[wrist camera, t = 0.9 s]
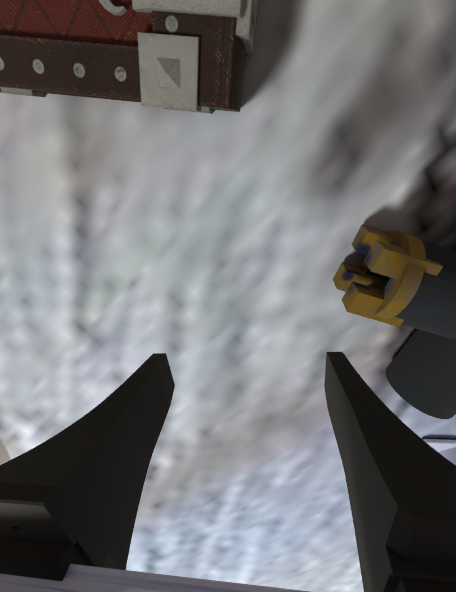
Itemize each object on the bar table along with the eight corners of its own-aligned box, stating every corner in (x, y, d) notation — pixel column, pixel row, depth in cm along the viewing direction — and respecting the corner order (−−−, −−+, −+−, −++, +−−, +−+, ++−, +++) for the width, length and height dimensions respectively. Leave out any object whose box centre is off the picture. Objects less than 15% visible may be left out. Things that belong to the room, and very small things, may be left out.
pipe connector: (309, 383, 19) (465, 128, 12) (300, 333, 24) (408, 126, 16) (471, 429, 20) (720, 215, 12) (432, 372, 24) (596, 190, 17)
